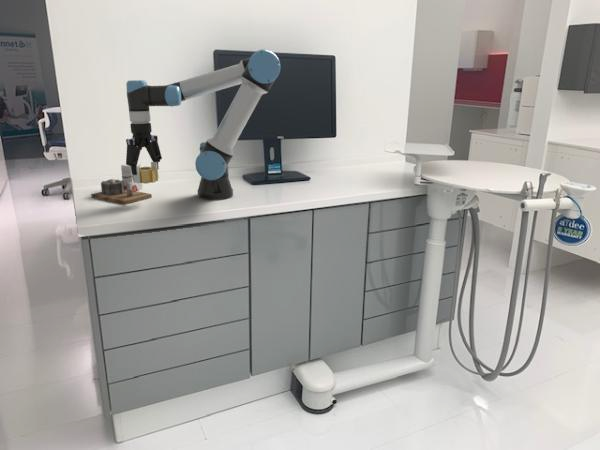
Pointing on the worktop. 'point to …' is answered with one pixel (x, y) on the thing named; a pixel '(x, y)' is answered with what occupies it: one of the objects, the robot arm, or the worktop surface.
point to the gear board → (122, 197)
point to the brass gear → (148, 174)
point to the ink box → (130, 177)
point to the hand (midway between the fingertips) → (146, 180)
